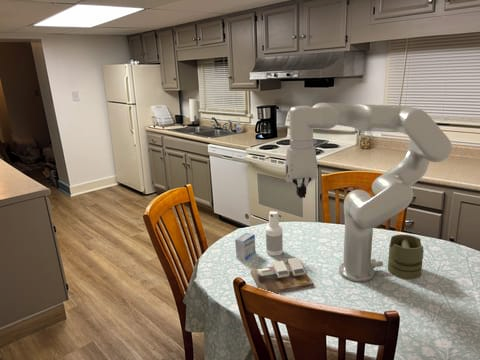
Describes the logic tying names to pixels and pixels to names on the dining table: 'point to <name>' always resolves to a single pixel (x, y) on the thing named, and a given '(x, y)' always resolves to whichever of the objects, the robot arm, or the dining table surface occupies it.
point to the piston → (405, 256)
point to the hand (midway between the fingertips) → (301, 196)
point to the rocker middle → (280, 269)
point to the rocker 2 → (296, 266)
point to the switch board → (281, 281)
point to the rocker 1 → (264, 271)
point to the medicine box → (245, 246)
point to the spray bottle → (274, 235)
